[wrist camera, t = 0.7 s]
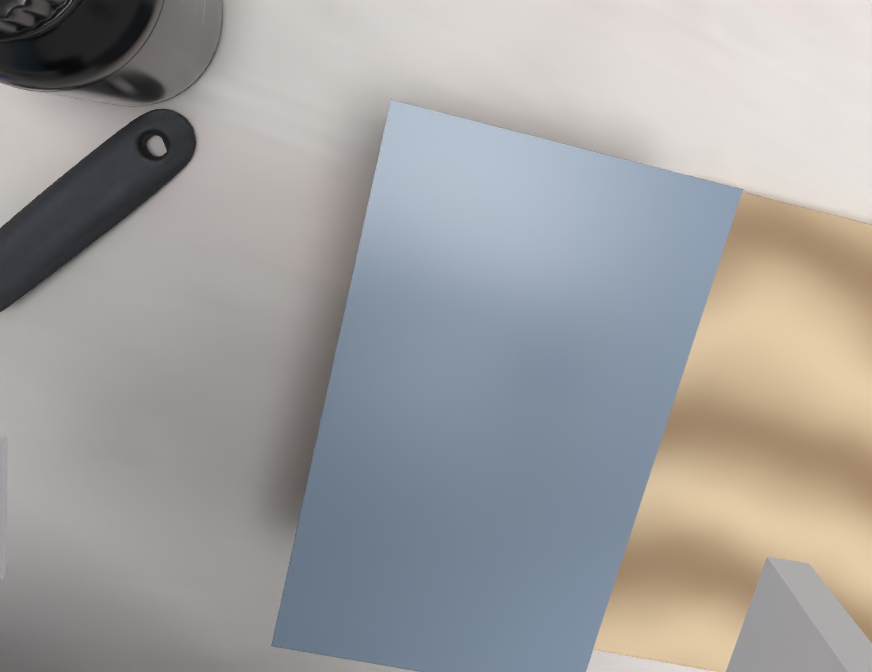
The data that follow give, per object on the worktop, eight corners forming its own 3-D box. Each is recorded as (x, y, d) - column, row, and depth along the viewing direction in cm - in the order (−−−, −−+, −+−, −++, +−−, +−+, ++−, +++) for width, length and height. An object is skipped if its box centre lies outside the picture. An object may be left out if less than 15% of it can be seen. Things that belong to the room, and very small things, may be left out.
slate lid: (552, 626, 30) (577, 698, 26) (287, 578, 28) (271, 645, 25) (690, 183, 26) (743, 189, 22) (390, 107, 25) (391, 99, 21)
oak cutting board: (842, 675, 36) (861, 697, 34) (558, 623, 34) (566, 644, 33) (1012, 263, 31) (1043, 268, 30) (696, 182, 30) (712, 184, 28)
